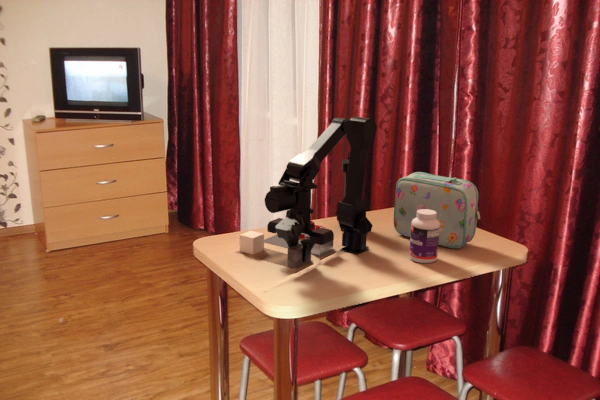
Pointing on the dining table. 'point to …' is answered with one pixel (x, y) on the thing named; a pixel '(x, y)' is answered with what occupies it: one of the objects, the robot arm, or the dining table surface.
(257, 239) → the cream block
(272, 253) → the walnut strip
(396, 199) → the lunch box
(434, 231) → the pill bottle
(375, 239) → the dining table surface
